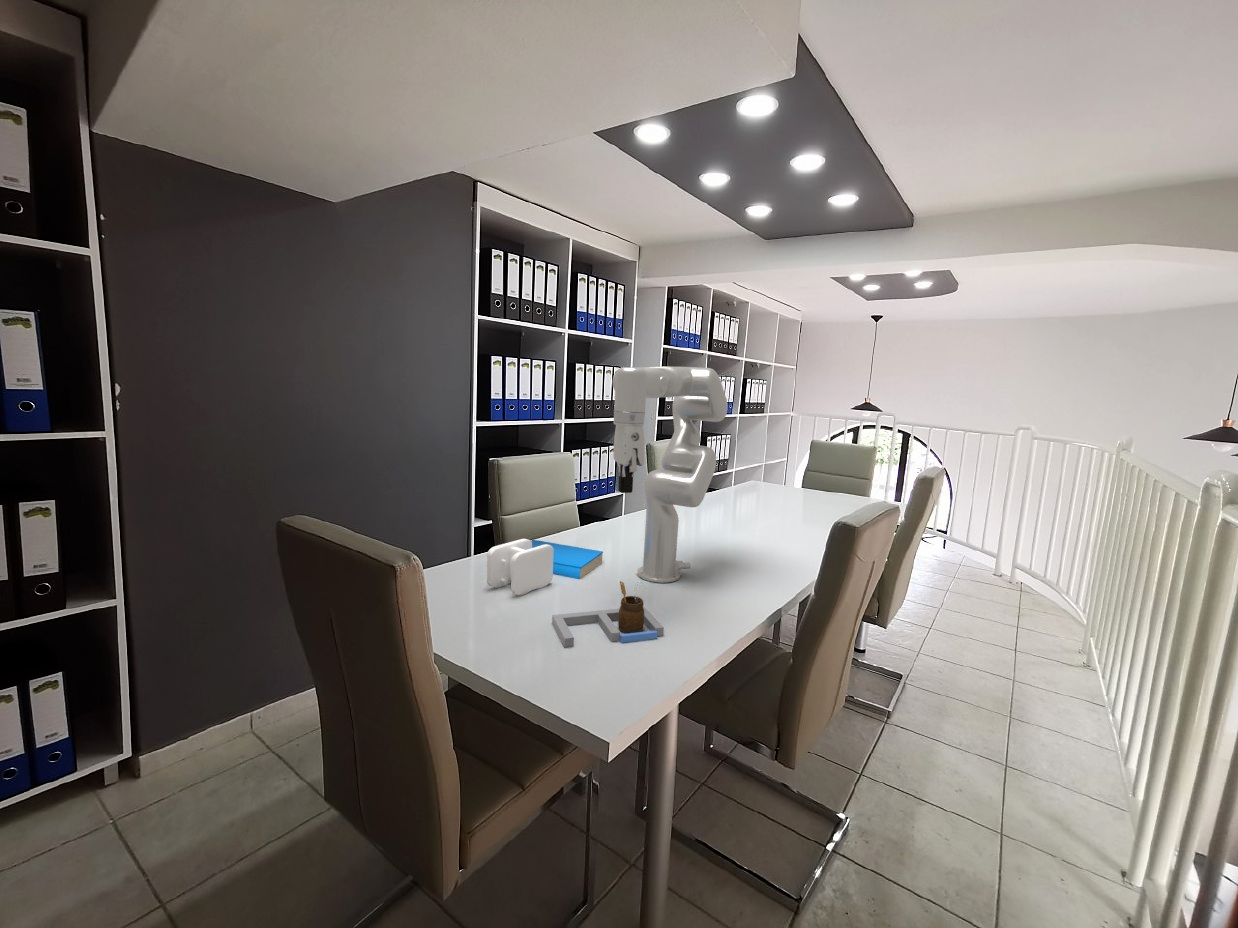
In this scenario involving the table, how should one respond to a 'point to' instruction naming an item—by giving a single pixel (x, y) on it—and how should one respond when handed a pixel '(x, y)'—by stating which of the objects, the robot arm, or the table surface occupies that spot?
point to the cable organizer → (520, 566)
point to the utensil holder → (631, 612)
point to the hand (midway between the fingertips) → (625, 491)
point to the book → (572, 559)
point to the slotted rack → (604, 626)
